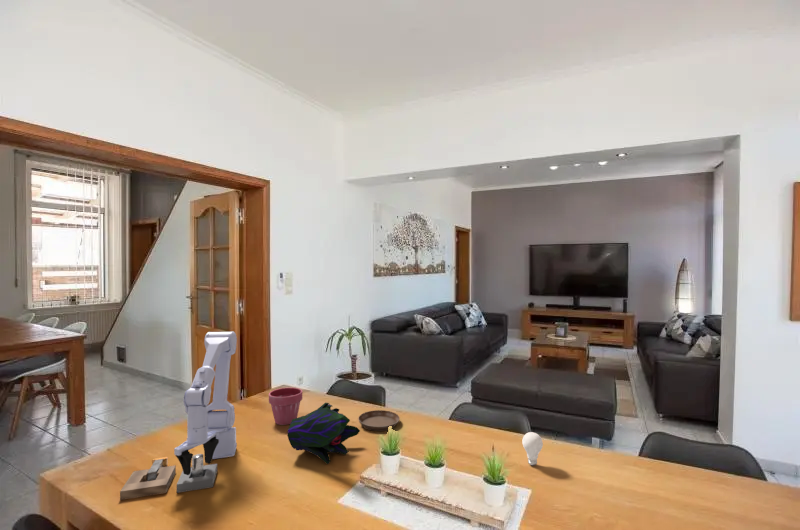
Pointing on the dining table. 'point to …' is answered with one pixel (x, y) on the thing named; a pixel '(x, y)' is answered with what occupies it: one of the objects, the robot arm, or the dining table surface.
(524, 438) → the light bulb
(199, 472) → the peg
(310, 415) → the decorative plant
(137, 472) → the socket block
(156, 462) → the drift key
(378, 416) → the plant saucer
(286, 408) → the plant pot
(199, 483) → the block
